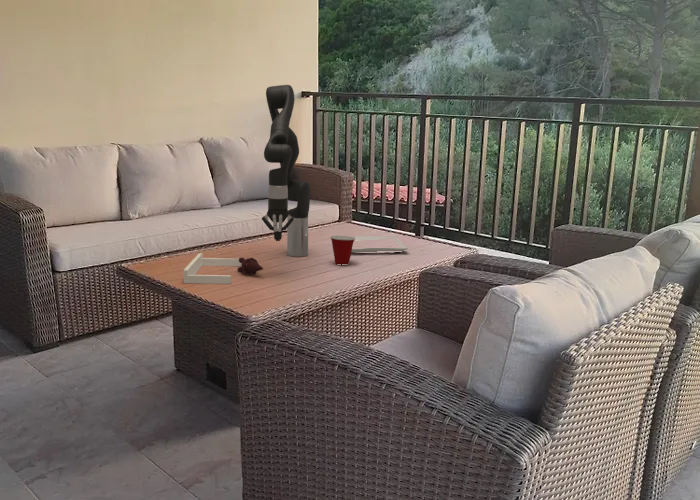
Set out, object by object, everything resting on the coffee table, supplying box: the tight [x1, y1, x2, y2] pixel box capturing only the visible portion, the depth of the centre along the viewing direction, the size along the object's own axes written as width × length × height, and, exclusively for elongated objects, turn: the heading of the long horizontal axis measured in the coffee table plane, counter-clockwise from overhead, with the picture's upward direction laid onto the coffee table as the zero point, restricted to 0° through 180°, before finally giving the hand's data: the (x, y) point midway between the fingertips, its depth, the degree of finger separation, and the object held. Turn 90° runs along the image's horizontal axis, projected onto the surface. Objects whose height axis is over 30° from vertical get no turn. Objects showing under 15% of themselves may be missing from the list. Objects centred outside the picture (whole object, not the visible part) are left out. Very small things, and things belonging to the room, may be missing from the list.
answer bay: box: [183, 252, 242, 285], centre depth 249 cm, size 18×27×5 cm, turn 1°
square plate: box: [351, 235, 409, 253], centre depth 300 cm, size 27×27×4 cm
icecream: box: [237, 257, 264, 276], centre depth 250 cm, size 7×7×15 cm
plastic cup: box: [329, 234, 356, 266], centre depth 269 cm, size 11×11×12 cm
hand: (277, 240), depth 247 cm, fingers closed
